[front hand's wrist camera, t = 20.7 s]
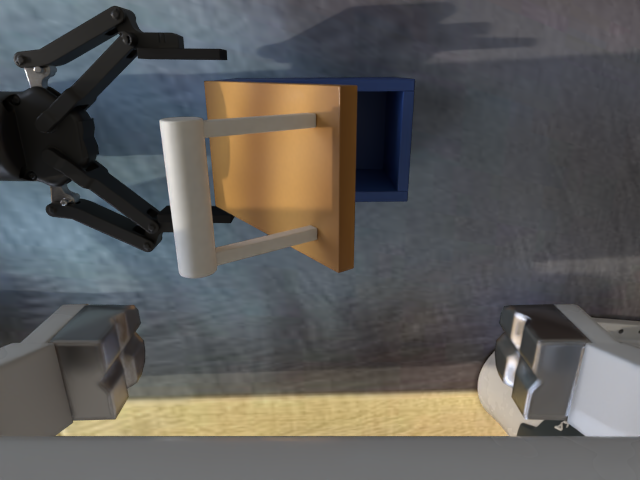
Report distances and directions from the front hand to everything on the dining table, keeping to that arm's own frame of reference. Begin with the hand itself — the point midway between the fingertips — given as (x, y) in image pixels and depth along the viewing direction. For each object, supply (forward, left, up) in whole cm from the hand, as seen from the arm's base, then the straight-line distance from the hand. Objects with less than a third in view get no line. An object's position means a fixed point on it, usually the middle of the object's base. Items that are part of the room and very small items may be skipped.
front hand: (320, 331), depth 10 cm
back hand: (+8, -1, -31) cm, 32 cm away
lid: (+3, 0, -20) cm, 20 cm away
